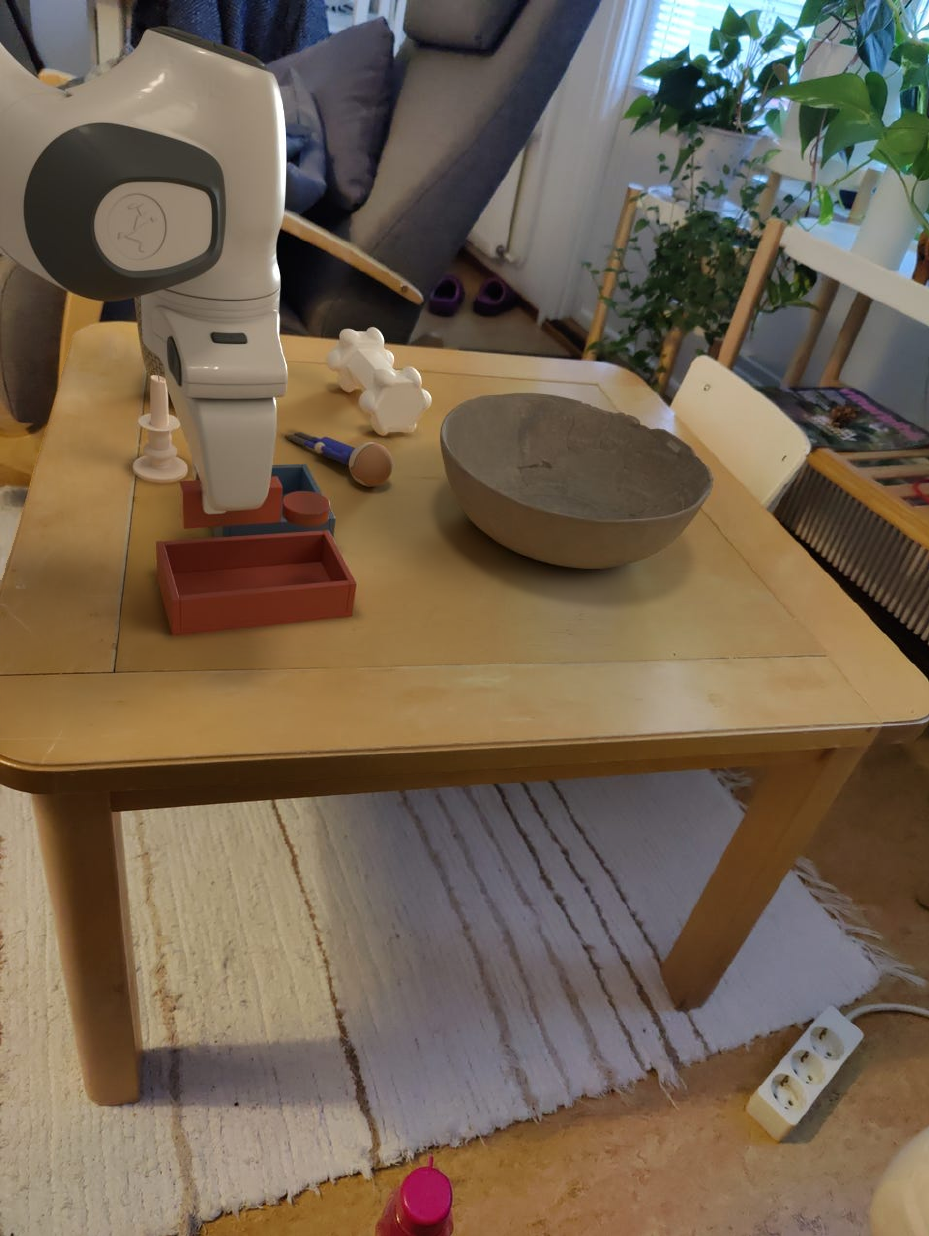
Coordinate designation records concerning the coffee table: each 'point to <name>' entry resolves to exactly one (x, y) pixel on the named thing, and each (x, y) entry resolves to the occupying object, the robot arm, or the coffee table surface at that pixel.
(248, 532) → the blue bin
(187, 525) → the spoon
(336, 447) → the toy
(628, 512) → the bowl
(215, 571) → the red bin
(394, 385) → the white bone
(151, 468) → the candle
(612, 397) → the coffee table surface
